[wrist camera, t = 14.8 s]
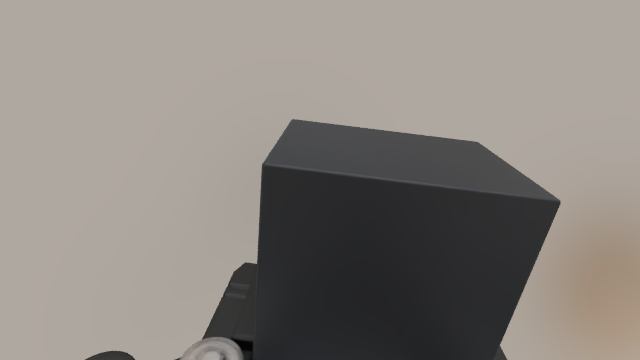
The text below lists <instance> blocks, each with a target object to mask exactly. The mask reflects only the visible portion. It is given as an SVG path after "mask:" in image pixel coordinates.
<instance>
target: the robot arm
mask: <svg viewBox="0 0 640 360" xmlns="http://www.w3.org/2000/svg"><path fill="white" fill-rule="evenodd" d="M256 279H257V264H253V263H244V264H243V265H242V266H241V267H239V268H238V269H237V270H236V271H235V272H234V273H233V275H232V277H231V279H230V281H229V284H228V287H227V288H226V290H225V292H224V294H223V297H222V298H221V301H220V303H219V305H218V307H217V309H216V311H215V313H214V315H213V318H212V320H211V322H210V324H209V326H208V328H207V331H206V332H205V335H204V337H203V339H202V340H201V341H198V342H197V343H195V344H193V345H192V346H191V347H190V348H188V349H187V350H186V352H185V353H184V354H183V355H182V357H180V358H178V359H176V360H253V341H254V321H255V300H256ZM86 360H135V359H134V358H133V357H132V356H131V355H129V354H128V353H125V352H121V351H109V352H104V353H99V354H97V355H94V356H92V357H89V358H87V359H86ZM494 360H507V359H506V357H505V355H504V353H503V351H502V349H501V347H500V346H499V348H498V350H497V353H496V355H495V357H494Z"/></svg>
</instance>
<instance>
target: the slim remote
mask: <svg viewBox="0 0 640 360" xmlns="http://www.w3.org/2000/svg"><path fill="white" fill-rule="evenodd" d="M261 177H262V178H261V197H260V219H259V239H258V260H257V279H256V300H255V321H254V341H253V360H494V357H495V355H496V353H497V350H498V348H499V346H500V343H501V341H502V339H503V336H504V334H505V332H506V329H507V327H508V324H509V322H510V320H511V318H512V315H513V313H514V311H515V308H516V306H517V304H518V301H519V299H520V297H521V294H522V292H523V290H524V287H525V285H526V283H527V280H528V278H529V276H530V273H531V271H532V269H533V266H534V264H535V261H536V259H537V257H538V255H539V252H540V250H541V247H542V245H543V243H544V240H545V238H546V236H547V234H548V231H549V229H550V227H551V224H552V222H553V220H554V217H555V215H556V212H557V210H558V208H559V205H560V200H559V199H557V198H556V197H555V196H553V195H552V194H550V193H549V192H548V191H546V190H545V189H543V188H542V187H540V186H539V185H538V184H536V183H535V182H533V181H532V180H531V179H529V178H528V177H526V176H525V175H523V174H522V173H521V172H519V171H518V170H516V169H515V168H513V167H512V166H511V165H509V164H508V163H506V162H505V161H504V160H502V159H501V158H499V157H498V156H497V155H495V154H494V153H492V152H491V151H490V150H488V149H487V148H485V147H484V146H482V145H481V144H480V143H478V142H473V141H465V140H456V139H448V138H441V137H432V136H424V135H416V134H408V133H399V132H392V131H384V130H375V129H368V128H360V127H351V126H343V125H335V124H326V123H318V122H311V121H303V120H295V119H294V120H291V122H290V123H289V125H288V126H287V128H286V129H285V131H284V132H283V134H282V136H281V137H280V138H279V140H278V141H277V143H276V145H275V146H274V148H273V149H272V150H271V152H270V153H269V155H268V157H267V158H266V160H265V161H264V163H263V164H262V176H261Z"/></svg>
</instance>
